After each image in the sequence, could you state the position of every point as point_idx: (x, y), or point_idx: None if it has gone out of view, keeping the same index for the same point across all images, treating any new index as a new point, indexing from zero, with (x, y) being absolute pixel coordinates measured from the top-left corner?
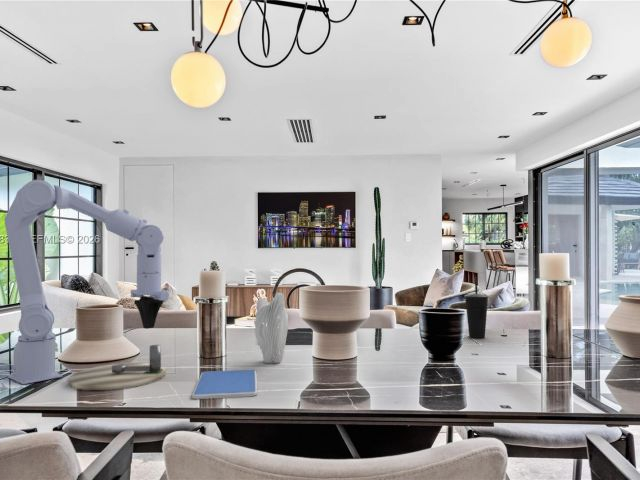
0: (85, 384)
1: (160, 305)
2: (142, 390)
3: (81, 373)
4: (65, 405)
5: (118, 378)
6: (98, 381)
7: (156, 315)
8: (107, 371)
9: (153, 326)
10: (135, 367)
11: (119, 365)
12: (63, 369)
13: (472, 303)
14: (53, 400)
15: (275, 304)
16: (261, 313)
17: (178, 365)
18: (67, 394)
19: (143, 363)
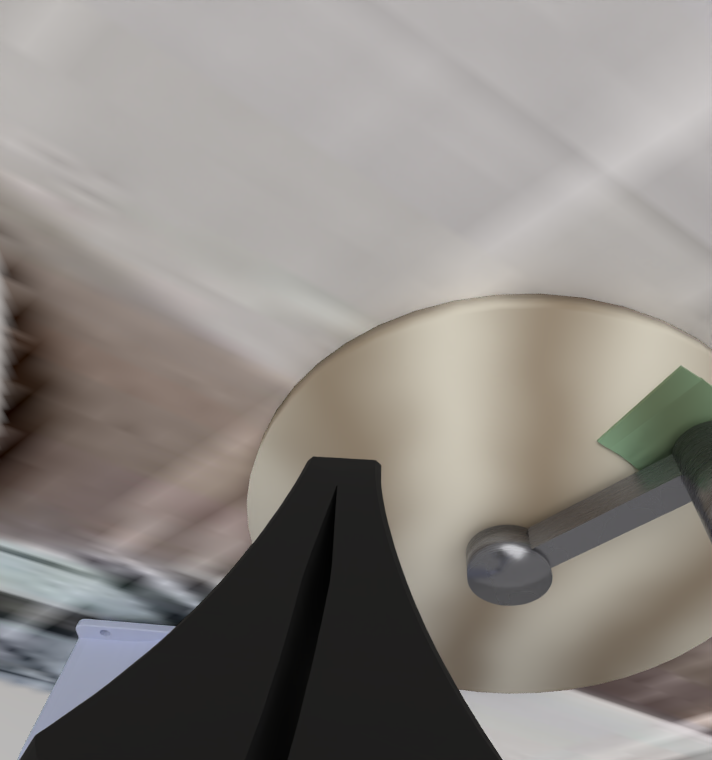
0: (562, 684)
1: (476, 736)
2: None
3: None
4: (688, 753)
5: (610, 590)
6: (568, 647)
7: (405, 580)
8: (411, 553)
9: (380, 475)
10: (611, 534)
11: (508, 576)
12: (89, 569)
13: None
14: (588, 746)
15: None
16: None
17: (574, 118)
18: (559, 708)
19: (392, 349)
